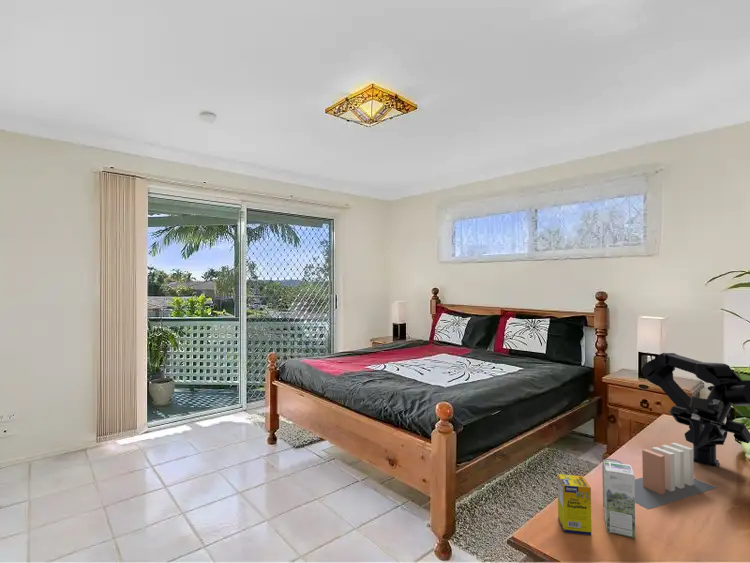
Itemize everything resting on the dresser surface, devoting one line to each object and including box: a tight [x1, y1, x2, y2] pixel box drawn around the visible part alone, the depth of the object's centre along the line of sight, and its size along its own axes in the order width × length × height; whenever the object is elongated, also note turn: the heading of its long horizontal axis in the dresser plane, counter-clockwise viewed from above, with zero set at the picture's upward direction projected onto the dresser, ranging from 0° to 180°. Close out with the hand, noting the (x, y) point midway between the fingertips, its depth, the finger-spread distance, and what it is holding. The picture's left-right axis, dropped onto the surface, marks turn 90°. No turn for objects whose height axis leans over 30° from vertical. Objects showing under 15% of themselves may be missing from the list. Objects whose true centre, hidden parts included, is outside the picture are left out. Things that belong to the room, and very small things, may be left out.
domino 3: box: [670, 442, 695, 486], centre depth 117 cm, size 2×5×10 cm, turn 22°
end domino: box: [641, 448, 665, 494], centre depth 112 cm, size 2×5×10 cm, turn 22°
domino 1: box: [651, 446, 675, 491], centre depth 114 cm, size 2×5×10 cm, turn 22°
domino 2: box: [661, 444, 685, 489], centre depth 115 cm, size 2×5×10 cm, turn 22°
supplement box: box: [557, 473, 592, 536], centre depth 96 cm, size 6×6×11 cm
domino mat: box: [635, 476, 718, 510], centre depth 113 cm, size 28×12×1 cm, turn 112°
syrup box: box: [603, 461, 636, 539], centre depth 95 cm, size 6×6×14 cm
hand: (695, 446), depth 119 cm, fingers closed
